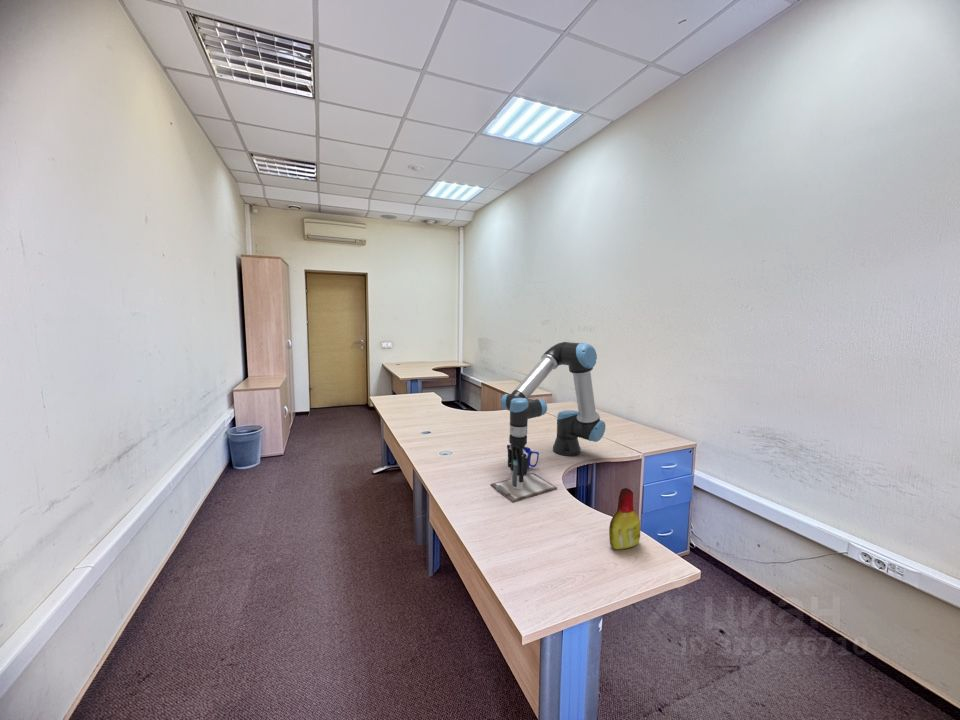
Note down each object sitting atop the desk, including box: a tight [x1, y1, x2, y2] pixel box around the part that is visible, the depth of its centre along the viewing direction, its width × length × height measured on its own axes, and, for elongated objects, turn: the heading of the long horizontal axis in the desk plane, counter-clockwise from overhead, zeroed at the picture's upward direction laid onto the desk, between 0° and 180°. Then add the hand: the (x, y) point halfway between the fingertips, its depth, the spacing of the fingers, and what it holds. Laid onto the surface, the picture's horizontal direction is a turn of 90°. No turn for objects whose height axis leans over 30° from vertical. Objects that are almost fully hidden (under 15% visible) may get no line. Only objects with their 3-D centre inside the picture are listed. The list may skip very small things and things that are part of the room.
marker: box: [513, 459, 518, 490], centre depth 157 cm, size 4×4×12 cm
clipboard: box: [489, 472, 558, 504], centre depth 160 cm, size 24×17×2 cm
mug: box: [525, 446, 540, 471], centre depth 179 cm, size 8×12×10 cm
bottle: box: [608, 487, 641, 550], centre depth 119 cm, size 12×6×20 cm, turn 111°
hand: (516, 486), depth 157 cm, fingers closed on marker, 3 cm apart
